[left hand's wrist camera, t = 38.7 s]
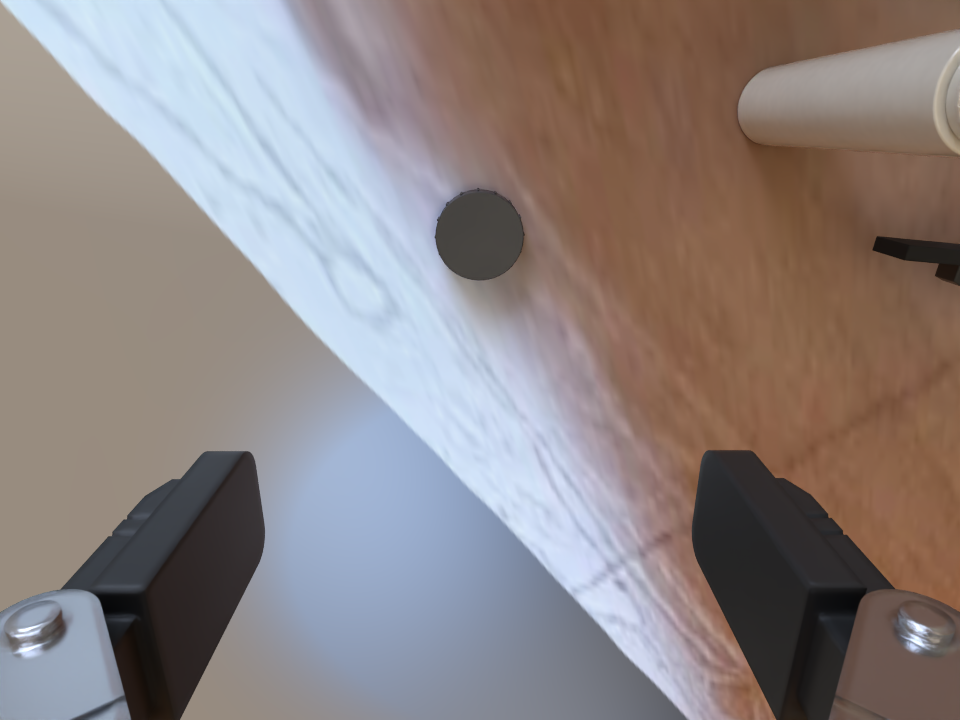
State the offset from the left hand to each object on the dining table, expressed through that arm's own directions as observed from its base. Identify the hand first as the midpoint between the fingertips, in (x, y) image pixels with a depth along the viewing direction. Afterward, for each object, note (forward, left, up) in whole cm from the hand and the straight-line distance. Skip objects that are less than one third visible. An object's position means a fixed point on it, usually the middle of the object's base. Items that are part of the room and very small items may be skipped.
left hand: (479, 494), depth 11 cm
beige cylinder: (-17, +6, -29) cm, 35 cm away
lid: (0, 0, -28) cm, 28 cm away
